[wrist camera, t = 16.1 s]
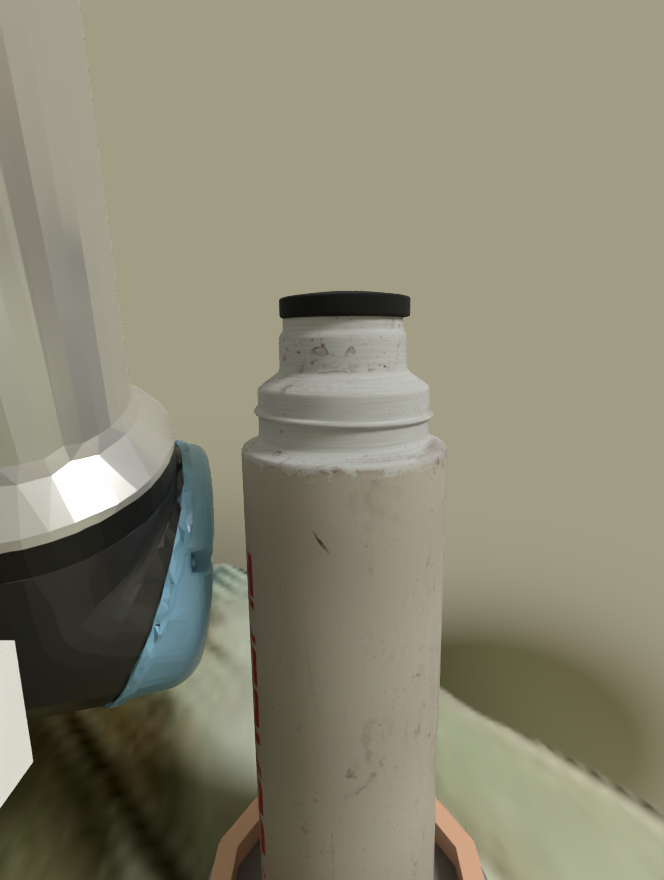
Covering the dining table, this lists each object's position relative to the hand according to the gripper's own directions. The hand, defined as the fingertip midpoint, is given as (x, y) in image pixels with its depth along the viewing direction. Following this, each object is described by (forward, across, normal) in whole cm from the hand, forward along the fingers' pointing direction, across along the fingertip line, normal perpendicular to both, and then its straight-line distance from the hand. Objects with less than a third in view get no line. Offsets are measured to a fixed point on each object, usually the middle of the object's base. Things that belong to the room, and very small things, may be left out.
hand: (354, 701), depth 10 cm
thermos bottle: (+11, 0, -20) cm, 23 cm away
